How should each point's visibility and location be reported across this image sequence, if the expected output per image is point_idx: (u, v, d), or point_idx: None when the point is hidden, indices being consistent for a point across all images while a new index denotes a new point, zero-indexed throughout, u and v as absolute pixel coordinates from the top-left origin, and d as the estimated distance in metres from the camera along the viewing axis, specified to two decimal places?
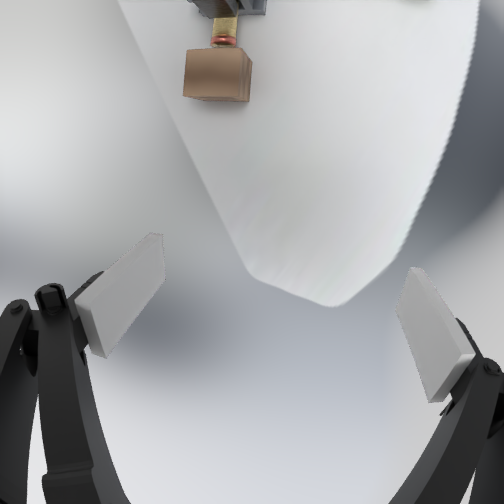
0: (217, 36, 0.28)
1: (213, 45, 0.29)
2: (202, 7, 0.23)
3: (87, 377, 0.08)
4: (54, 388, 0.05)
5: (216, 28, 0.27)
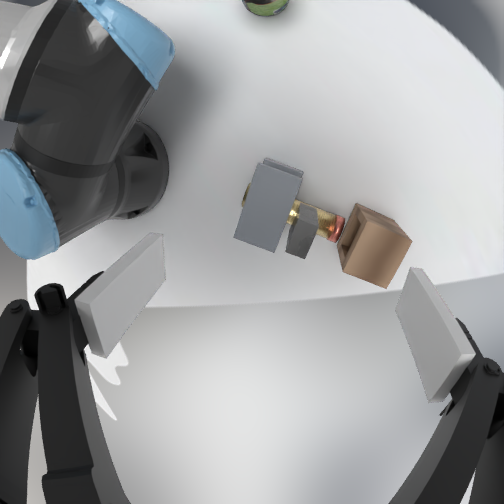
0: (332, 234, 0.33)
1: None
2: None
3: (87, 377, 0.08)
4: (54, 388, 0.05)
5: (321, 232, 0.33)
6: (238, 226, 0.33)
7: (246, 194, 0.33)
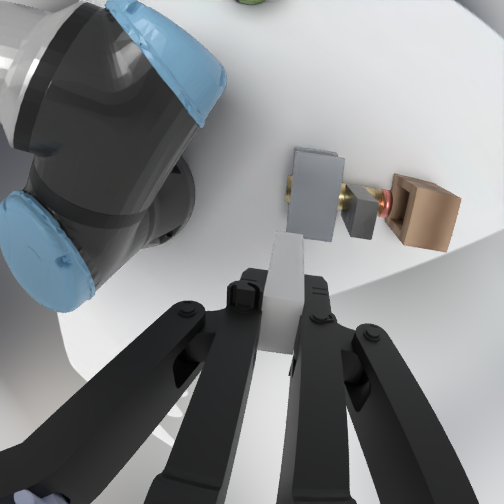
0: (383, 209, 0.29)
1: None
2: None
3: (249, 384, 0.09)
4: (215, 392, 0.06)
5: None
6: (288, 222, 0.30)
7: (288, 187, 0.30)
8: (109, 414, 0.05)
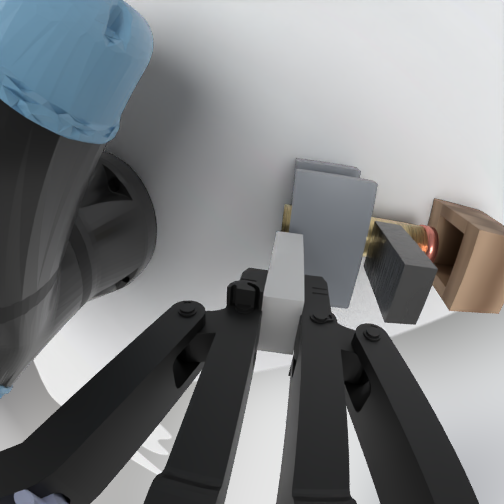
0: None
1: None
2: None
3: (249, 384, 0.09)
4: (215, 392, 0.06)
5: None
6: None
7: (285, 226, 0.19)
8: (109, 414, 0.05)
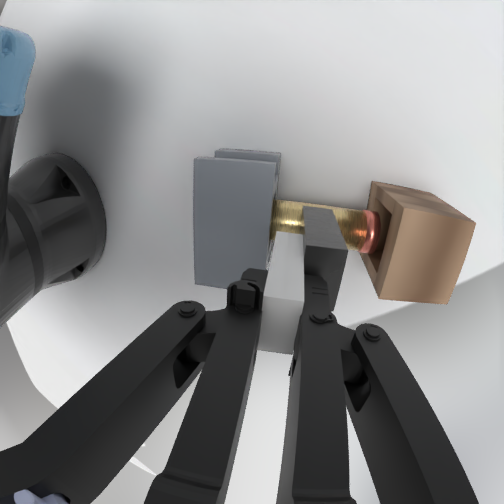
0: (365, 244, 0.19)
1: None
2: None
3: (249, 384, 0.09)
4: (216, 392, 0.06)
5: (346, 244, 0.20)
6: (196, 266, 0.20)
7: None
8: (109, 414, 0.05)
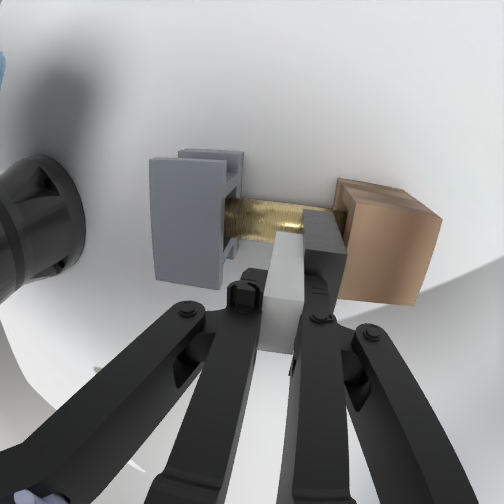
0: None
1: None
2: None
3: (249, 384, 0.09)
4: (216, 392, 0.06)
5: None
6: (156, 262, 0.21)
7: None
8: (109, 414, 0.05)
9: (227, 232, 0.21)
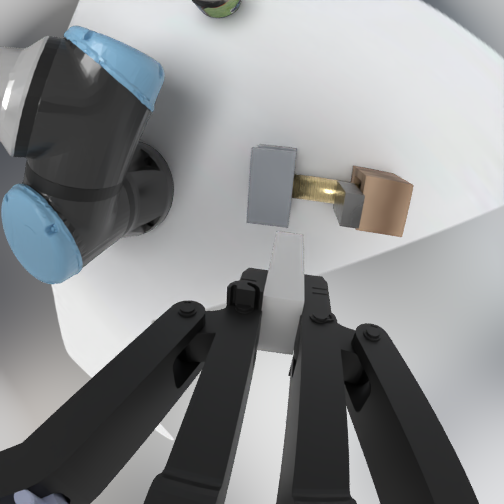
0: None
1: None
2: None
3: (249, 384, 0.09)
4: (215, 392, 0.06)
5: None
6: (248, 210, 0.34)
7: None
8: (109, 414, 0.05)
9: (293, 193, 0.34)
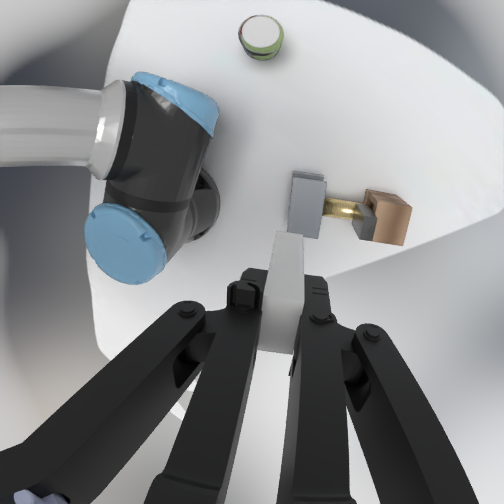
0: None
1: None
2: None
3: (249, 384, 0.09)
4: (216, 392, 0.06)
5: None
6: (288, 225, 0.45)
7: None
8: (109, 414, 0.05)
9: (322, 212, 0.45)
